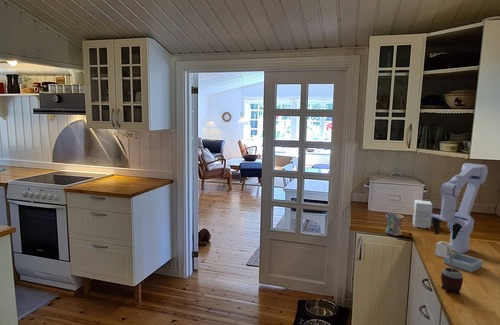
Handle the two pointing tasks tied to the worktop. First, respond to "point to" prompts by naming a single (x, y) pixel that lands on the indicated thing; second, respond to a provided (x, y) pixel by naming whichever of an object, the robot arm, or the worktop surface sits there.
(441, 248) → the box
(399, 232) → the mug
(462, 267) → the big crate
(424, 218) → the supplement box
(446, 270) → the mate gourd
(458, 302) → the worktop surface
